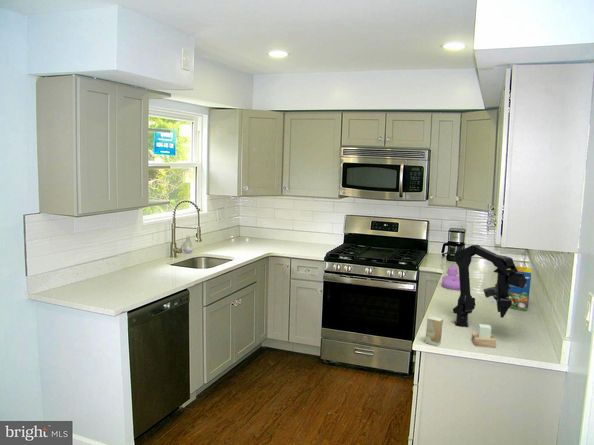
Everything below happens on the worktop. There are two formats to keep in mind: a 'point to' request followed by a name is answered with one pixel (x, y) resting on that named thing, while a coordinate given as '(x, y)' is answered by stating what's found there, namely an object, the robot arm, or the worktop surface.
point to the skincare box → (434, 330)
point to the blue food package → (520, 291)
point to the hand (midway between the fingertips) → (500, 314)
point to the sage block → (484, 331)
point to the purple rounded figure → (451, 279)
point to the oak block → (483, 341)
